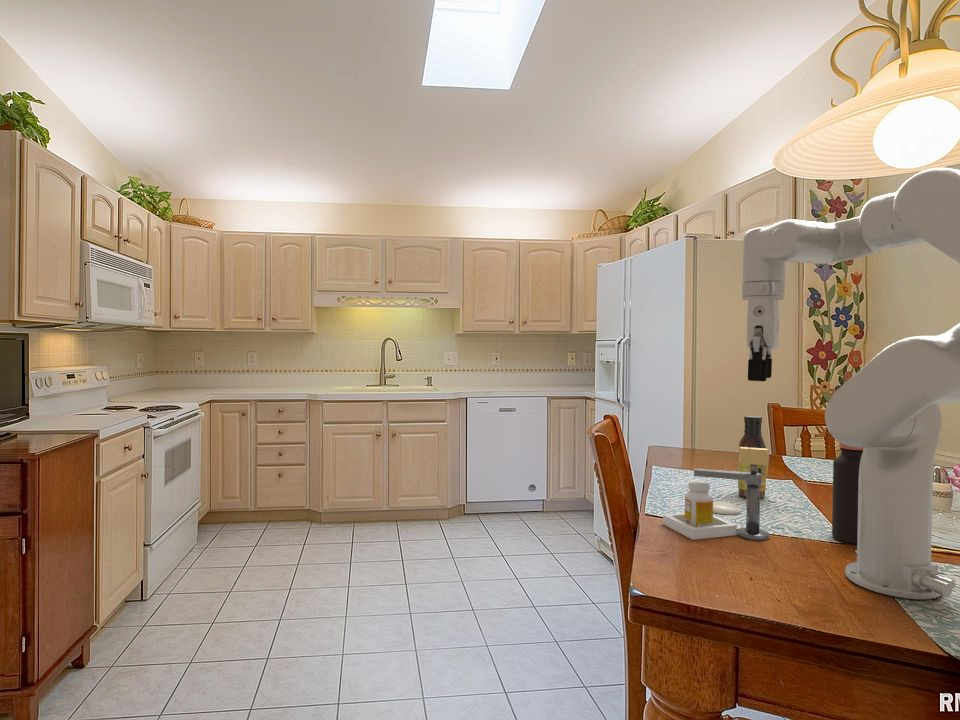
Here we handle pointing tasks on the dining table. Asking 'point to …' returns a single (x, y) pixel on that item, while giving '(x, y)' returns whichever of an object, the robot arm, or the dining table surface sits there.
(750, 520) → the post
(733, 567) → the dining table surface
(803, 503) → the dining table surface
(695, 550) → the dining table surface
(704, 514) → the supplement bottle
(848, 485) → the vinegar
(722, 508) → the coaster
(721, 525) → the dock
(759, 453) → the lever handle
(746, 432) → the sauce bottle
